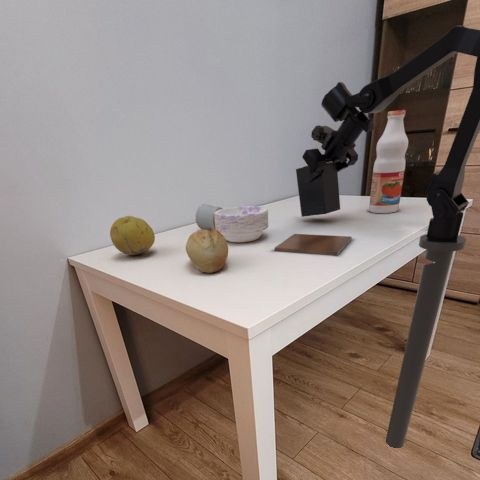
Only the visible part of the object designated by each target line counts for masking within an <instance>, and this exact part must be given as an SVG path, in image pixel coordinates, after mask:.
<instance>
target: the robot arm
mask: <svg viewBox="0 0 480 480" xmlns="http://www.w3.org/2000/svg"><path fill="white" fill-rule="evenodd" d="M459 53H460V54H463V55H468V56H472V57H475V58H476V60H475V66H474V69H473V70H474V71H473V82H472V89H471V93H470V95H469V98H468V101H467V104H466V106H465V108H464V111H463V114H462V117H461V119H460V122H459V125H458V127H457V131H456V133H455V136H454V139H453V142H452V143H451V145H450V150H449V152H448V155H447V157H446V159H445V160H446V161H445V163H444V165H443V166H442V167H441V169H440V170H437V171H435V172H432V173H431V175H430V179H429V184H428V186H427V188H426V190H425V191H424V192H425V193H427V194H426V199H425V200H426V202H427V204H428V205H429V206H430V208H431V213H432V217H431V218H430V219H429V223H428V227H427V231H426V232H427V233H426V234H427V237H428V241H435V242H457V241H458V235H459V233H460V229H461V225H462V221H463V218H464V211H465V210H466V208H467V207H468V206H469V200H468V199H467V197H466V196H465V195H464V194H463V193H462V190H463V186H464V182H465V171H466V165H467V162H468V161H469V157H470V155H471V153H472V151H473V147H474V145H475V142H476V141H477V138H478V135H479V132H480V29H475V28H469V27H467V26H464V25H462V24H457V25H455V26H452V28H450V29H449V31H447V33H445V34H444V35H443V36H441V37H440V38H439V39H437V40H436V41H435V42H433V43H432V44H430V45H429V46H428V47H426V48H425V49H424V50H422V51H421V52H419V53H418V54H417V55H416V56H414V57H412V58H411V59H410V60H409V61H407V62H406V63H404V64H403V65H402V66H400V67H399V68H398V69H396V70H395V71H393V72H392V73H390V74H387V75H385V76H382V77H380V78H377V79H375V80H373V81H372V82H370V83H368V84H366V85H364V86H363V87H362V88H361V89H360V91H359V92H357V93H355V94H352V93H351V91H350V90H349V89H348V88H347V86H346V84H345V83H344V82H343V81H338V82H337V83H336V85H334V86H333V87H332V88H331V89H330V90H329V91H328V92H327V93H325V95H324V96H323V98H322V100H321V105H320V106H321V107H322V109H323V110H324V111H325V113H327V115H328V116H329V117H330V118H331V119H332V120H333V121H334V122H335V123H337V122H341V124H340V125H339V127H338V128H337V129H334V128H332V127H330V126H328V125H315V126H314V127H313V129H312V130H311V133H310V136H311V137H310V138H312V140H313V141H316V142H317V143H320V144H321V146H320V148H321V149H322V150H323V151H324V153H322V152H321V151H320V149H319V148H310V149H305V151H304V152H303V155H302V156H301V157H302V159H303V161H304V162H305V163H306V166H309V171H308V175H307V179H306V182H307V183H310V182H311V181H313V180H314V179H315V178H317V177H318V176H319V175H321V174H322V173H323V172H324V170H323V169H324V168H325V167H326V163H331V162H333V163H335V162H337V173H339V172H341V171H343V170H345V169H347V168H349V167H351V166H355V164H356V163H357V162H358V161H359V154H358V153H357V151H356V150H355V147H356V146H357V145H356V141H357V140H358V138H359V137H360V136H361V135H362V133H363V132H364V133H370V132H373V131H374V130H375V118H374V117H372V118H370V117H368V116H367V115H368V114H376V113H381V112H382V111H384V110H385V109H386V108H387V107H388V106H390V105H391V103H392V102H394V100H395V99H396V98H397V97H398V96H399V94H401V93H402V92H403V91H404V90H405V89H407V88H408V87H409V86H411V85H412V84H413V83H415V82H417V81H418V80H419V79H421V78H423V77H424V76H425V75H427V74H428V73H430V72H431V71H433V70H435V69H436V68H437V67H439V66H440V65H442V64H443V63H445V62H446V61H448V60H449V59H451V58H452V57H454V56H455V55H457V54H459ZM357 108H358V109H357Z"/></svg>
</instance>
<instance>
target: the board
mask: <svg viewBox="0 0 480 480" xmlns="http://www.w3.org/2000/svg"><path fill="white" fill-rule="evenodd" d="M351 241H352V236H349V235H347V236H346V235H330V234H329V235H327V234H307V233H305V234H304V233H293V234H292V235H290V236H289V237H288V238H286V239H284V240H283V241H282V242H280V243H279V244H278V245H276V246H275V247H274V252H287V253H299V254H301V253H302V254H314V255H327V256H329V255H330V256H338V255H339V254H340V253H341V252H342V251H343V250H344V249H345V247H346V246H347V245H348V244H349V243H350V242H351Z"/></svg>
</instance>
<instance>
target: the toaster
mask: <svg viewBox="0 0 480 480" xmlns="http://www.w3.org/2000/svg"><path fill="white" fill-rule="evenodd" d="M323 170H324V172H323V173H322V174H321V175H319V176H318V177H317V178H315V179H314V180H313V181H311V182H310V183H307V182H306V179H307V175H308V171H309V166H308V165H305V166H302V167H299V168H295V173H296V182H297V189H298V190H297V191H298V197H299V198H298V199H299V206H300V215H301V217H303V218H304V217H310V216H312V217H313V216H320V215H327V214H330V213H333V212H337V211H340V210H341V199H340V185H339V175H338V174H339V172H337V162H335V163H333V162H331V163H326V167H325V168H324V169H323Z"/></svg>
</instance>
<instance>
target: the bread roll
mask: <svg viewBox="0 0 480 480" xmlns="http://www.w3.org/2000/svg"><path fill="white" fill-rule="evenodd" d="M185 251H186V254H187V256H188V258H189V260H190V262H191V263H192V265H194V267H196V269H198V270H199V271H200V272H203V273H207V274H208V273H209V274H210V273H215V272H218V271H220V270H221V269H222V268H223V267H224V266H225V263H226V262H227V259H228V256H229V245H228V241H227V240H226V239H225V238H224V236H223V234H222V233H221V232H219V231H218V230H216V229H212V228H211V229H210V230H206V229H200V230H197V231H194V232H192V233H191V234H190V235H189V236H188V238H187V241H186V244H185Z"/></svg>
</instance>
